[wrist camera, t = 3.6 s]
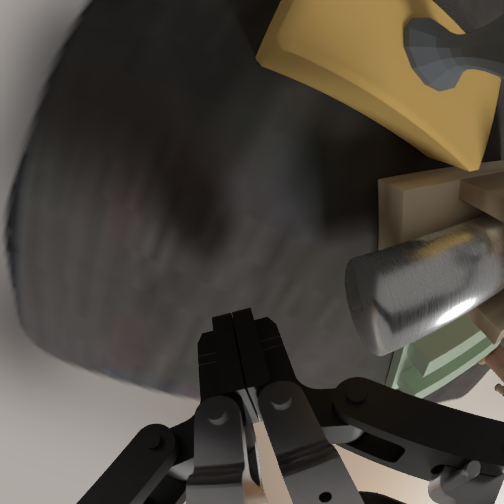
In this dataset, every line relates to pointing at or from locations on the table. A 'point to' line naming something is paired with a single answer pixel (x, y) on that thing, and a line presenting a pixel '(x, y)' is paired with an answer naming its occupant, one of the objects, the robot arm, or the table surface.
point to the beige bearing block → (444, 216)
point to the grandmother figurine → (496, 365)
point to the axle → (424, 283)
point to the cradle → (438, 357)
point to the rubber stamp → (396, 68)
